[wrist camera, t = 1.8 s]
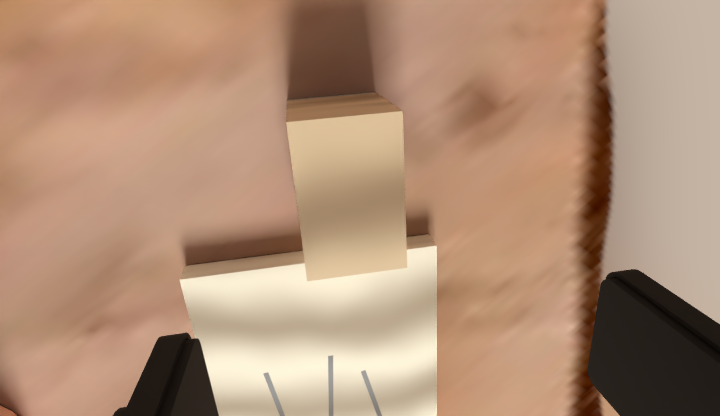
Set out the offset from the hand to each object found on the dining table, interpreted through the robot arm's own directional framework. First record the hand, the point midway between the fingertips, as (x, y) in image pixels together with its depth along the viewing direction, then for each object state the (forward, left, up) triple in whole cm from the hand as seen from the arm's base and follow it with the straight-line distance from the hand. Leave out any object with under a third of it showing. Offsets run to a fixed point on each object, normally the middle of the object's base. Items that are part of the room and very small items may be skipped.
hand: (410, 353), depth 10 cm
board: (+15, -2, -15) cm, 21 cm away
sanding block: (0, 0, -15) cm, 15 cm away
